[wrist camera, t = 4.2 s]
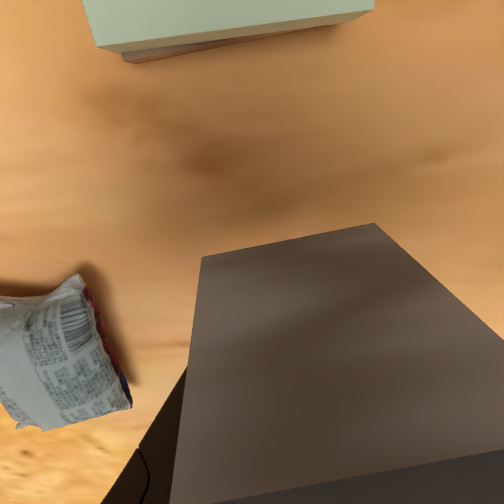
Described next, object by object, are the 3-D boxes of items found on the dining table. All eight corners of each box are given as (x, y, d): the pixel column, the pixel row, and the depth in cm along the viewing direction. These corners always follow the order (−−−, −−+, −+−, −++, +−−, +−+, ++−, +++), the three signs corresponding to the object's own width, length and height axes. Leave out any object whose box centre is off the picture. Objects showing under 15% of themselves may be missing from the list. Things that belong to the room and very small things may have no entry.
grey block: (374, 222, 9) (602, 430, 3) (372, 348, 11) (506, 582, 6) (202, 257, 9) (168, 511, 4) (237, 374, 11) (248, 629, 6)
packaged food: (34, 395, 25) (-5, 459, 21) (-41, 271, 19) (-116, 324, 15) (142, 382, 25) (127, 442, 21) (99, 257, 20) (66, 304, 16)
